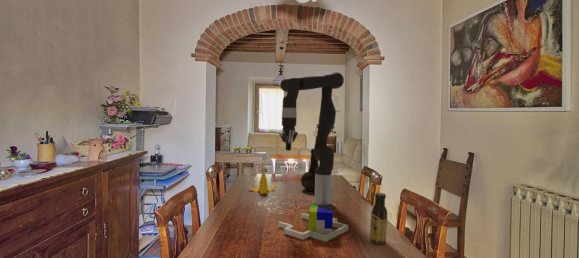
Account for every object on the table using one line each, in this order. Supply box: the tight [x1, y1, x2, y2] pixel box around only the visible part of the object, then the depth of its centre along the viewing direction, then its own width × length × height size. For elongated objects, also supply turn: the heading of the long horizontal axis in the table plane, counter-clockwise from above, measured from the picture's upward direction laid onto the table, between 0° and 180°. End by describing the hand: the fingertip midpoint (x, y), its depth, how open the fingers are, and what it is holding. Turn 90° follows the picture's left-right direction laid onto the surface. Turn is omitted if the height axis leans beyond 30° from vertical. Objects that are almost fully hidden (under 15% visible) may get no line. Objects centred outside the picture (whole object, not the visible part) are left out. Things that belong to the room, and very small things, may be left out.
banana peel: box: [247, 166, 277, 195], centre depth 210 cm, size 17×19×17 cm
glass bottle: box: [300, 148, 319, 192], centre depth 218 cm, size 18×18×28 cm
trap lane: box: [278, 213, 349, 243], centre depth 143 cm, size 25×27×2 cm
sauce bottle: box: [369, 192, 388, 245], centre depth 129 cm, size 7×6×20 cm
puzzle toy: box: [307, 204, 334, 235], centre depth 140 cm, size 10×10×10 cm
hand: (288, 150), depth 167 cm, fingers closed
